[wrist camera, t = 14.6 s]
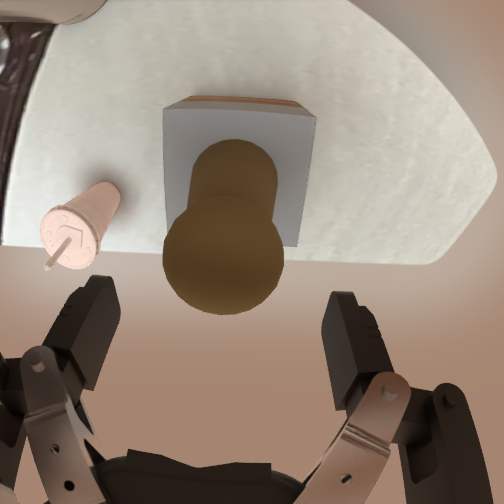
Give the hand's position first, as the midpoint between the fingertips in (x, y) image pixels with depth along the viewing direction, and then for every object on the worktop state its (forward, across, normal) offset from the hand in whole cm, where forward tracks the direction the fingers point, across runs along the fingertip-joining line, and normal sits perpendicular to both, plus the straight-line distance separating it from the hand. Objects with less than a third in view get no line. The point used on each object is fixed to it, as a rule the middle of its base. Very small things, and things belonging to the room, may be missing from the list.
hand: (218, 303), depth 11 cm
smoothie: (+22, +15, +6) cm, 28 cm away
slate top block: (+17, 0, 0) cm, 17 cm away
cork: (+12, 0, 0) cm, 12 cm away
